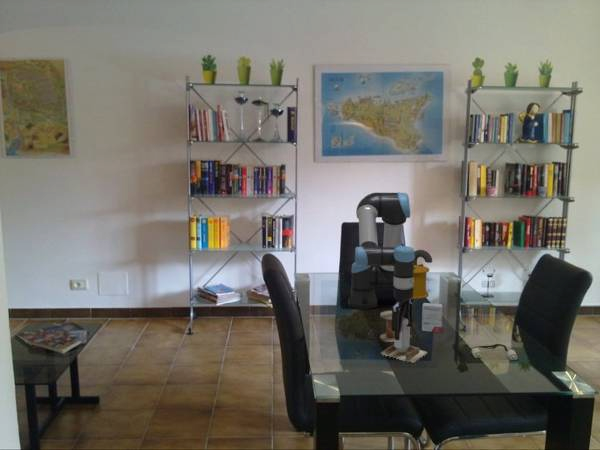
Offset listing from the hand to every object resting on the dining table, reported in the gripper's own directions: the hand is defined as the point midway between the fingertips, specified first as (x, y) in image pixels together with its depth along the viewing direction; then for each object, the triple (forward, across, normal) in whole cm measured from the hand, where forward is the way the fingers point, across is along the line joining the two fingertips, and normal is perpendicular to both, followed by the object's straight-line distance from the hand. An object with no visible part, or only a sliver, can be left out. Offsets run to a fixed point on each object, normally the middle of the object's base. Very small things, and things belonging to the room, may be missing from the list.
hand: (401, 344), depth 193 cm
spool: (+5, +80, +36) cm, 88 cm away
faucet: (+5, +107, +45) cm, 116 cm away
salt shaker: (+3, 0, 0) cm, 3 cm away
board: (+5, +2, 0) cm, 5 cm away
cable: (+5, +25, -26) cm, 36 cm away
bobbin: (+5, +13, +12) cm, 18 cm away
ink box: (+5, +34, +3) cm, 34 cm away
